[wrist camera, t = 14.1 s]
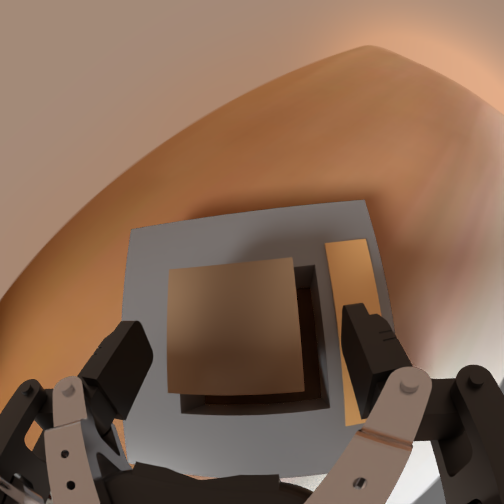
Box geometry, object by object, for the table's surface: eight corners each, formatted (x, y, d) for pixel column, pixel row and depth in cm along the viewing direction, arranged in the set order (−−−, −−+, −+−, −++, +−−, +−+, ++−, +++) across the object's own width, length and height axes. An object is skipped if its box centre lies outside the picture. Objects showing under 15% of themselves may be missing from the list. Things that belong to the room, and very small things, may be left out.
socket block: (159, 448, 14) (126, 463, 10) (157, 254, 19) (129, 227, 16) (378, 439, 12) (403, 457, 8) (352, 232, 18) (365, 197, 14)
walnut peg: (223, 382, 15) (167, 392, 8) (221, 312, 17) (169, 269, 10) (298, 378, 15) (304, 391, 8) (292, 306, 17) (292, 257, 9)
